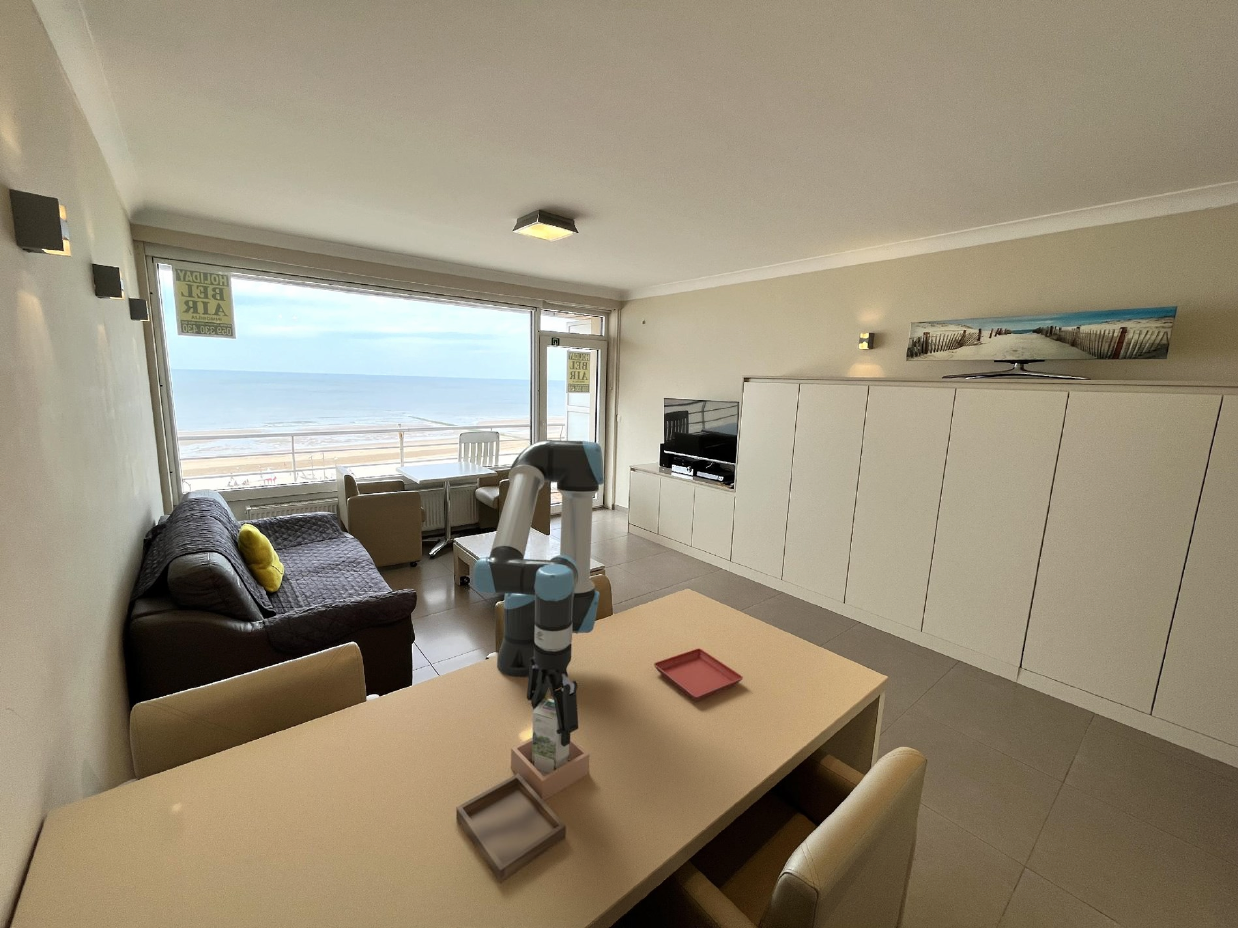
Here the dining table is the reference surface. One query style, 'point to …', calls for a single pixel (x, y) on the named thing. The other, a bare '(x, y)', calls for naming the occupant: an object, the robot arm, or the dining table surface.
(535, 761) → the syrup box
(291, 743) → the dining table surface
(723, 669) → the plant saucer
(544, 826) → the tray
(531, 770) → the holder
